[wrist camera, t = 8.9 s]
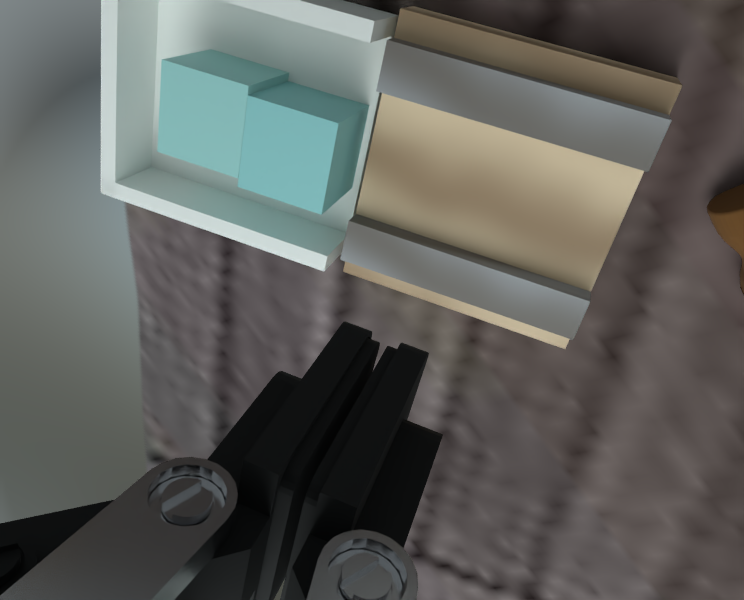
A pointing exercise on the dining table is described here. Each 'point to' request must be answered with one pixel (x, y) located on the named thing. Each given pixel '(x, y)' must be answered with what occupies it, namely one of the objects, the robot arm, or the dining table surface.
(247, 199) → the tray
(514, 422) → the dining table surface
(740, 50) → the dining table surface
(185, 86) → the light teal cube
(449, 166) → the slot board
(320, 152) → the teal cube block
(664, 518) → the dining table surface
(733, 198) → the hammer
